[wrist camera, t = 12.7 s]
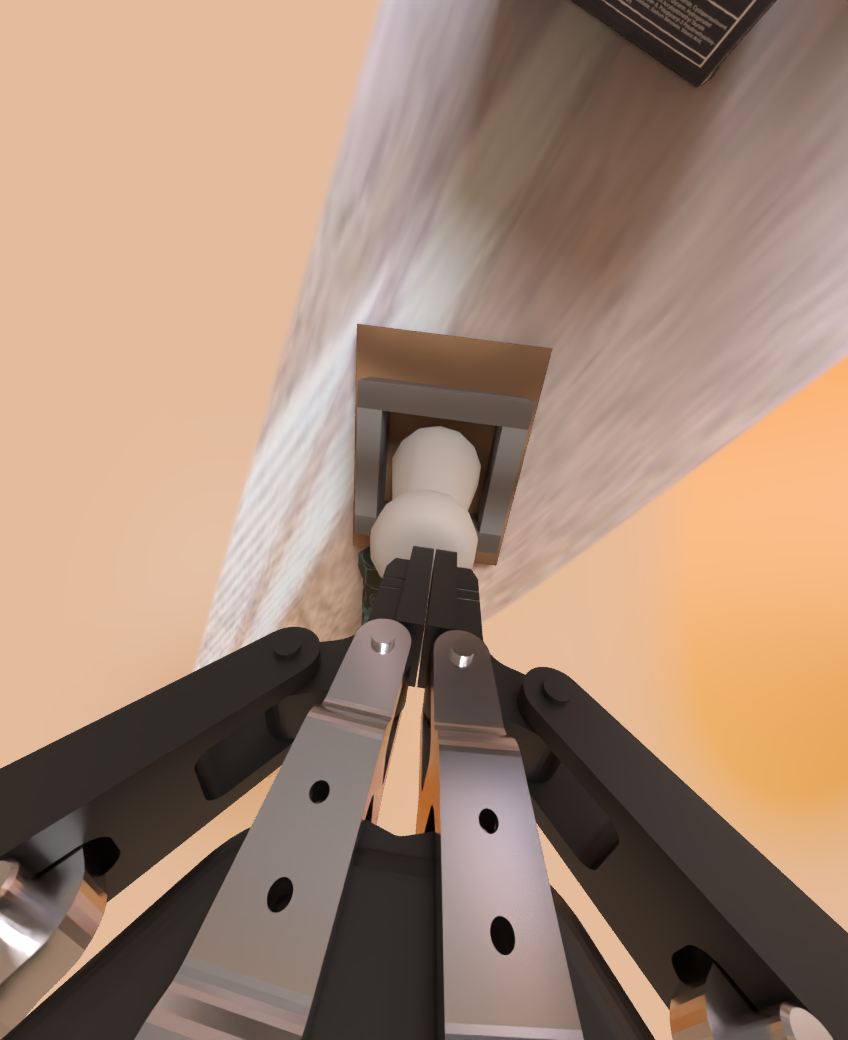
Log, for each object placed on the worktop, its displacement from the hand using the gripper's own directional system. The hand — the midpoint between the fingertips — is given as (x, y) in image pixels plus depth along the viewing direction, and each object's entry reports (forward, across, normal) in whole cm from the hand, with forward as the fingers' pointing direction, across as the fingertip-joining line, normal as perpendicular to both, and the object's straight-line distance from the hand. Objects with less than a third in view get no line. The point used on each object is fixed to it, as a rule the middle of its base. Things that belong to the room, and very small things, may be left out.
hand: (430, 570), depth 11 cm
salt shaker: (+14, 0, 0) cm, 14 cm away
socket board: (+15, +1, 0) cm, 15 cm away
